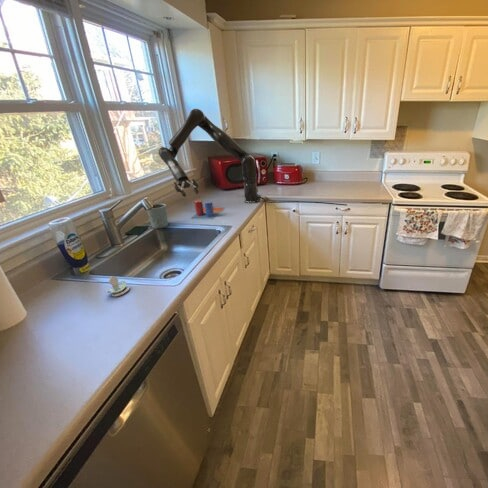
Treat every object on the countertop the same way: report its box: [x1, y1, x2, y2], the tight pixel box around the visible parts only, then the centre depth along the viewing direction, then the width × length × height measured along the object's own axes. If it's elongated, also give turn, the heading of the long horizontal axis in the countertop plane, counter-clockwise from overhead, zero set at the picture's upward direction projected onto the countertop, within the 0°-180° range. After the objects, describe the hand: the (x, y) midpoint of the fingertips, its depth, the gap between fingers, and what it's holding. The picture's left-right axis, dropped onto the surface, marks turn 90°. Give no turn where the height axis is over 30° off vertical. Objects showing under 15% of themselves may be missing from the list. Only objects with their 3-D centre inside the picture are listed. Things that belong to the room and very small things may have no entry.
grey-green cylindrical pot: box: [146, 203, 169, 229], centre depth 161 cm, size 10×10×12 cm
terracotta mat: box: [203, 206, 225, 213], centre depth 191 cm, size 13×9×1 cm
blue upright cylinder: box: [204, 200, 215, 218], centre depth 177 cm, size 5×5×9 cm
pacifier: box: [104, 275, 131, 297], centre depth 101 cm, size 7×6×6 cm
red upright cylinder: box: [194, 199, 205, 216], centre depth 179 cm, size 5×5×9 cm
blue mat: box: [191, 212, 219, 219], centre depth 179 cm, size 13×10×1 cm
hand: (191, 194), depth 179 cm, fingers open, 8 cm apart
